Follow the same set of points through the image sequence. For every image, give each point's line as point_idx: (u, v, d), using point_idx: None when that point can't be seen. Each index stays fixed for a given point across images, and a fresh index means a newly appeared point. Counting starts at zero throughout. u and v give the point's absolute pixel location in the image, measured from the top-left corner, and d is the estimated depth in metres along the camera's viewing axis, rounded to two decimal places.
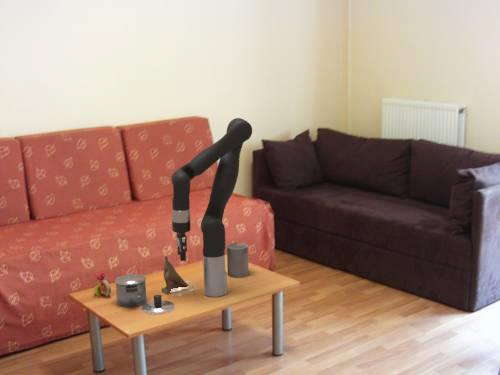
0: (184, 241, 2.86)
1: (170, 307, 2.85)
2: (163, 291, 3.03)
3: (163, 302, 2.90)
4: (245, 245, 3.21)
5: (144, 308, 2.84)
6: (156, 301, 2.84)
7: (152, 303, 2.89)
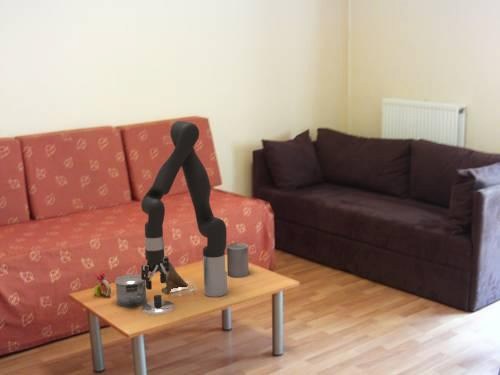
0: None
1: (170, 307, 2.85)
2: (163, 291, 3.03)
3: (163, 302, 2.90)
4: (245, 245, 3.21)
5: (144, 308, 2.84)
6: (156, 301, 2.84)
7: (152, 303, 2.89)
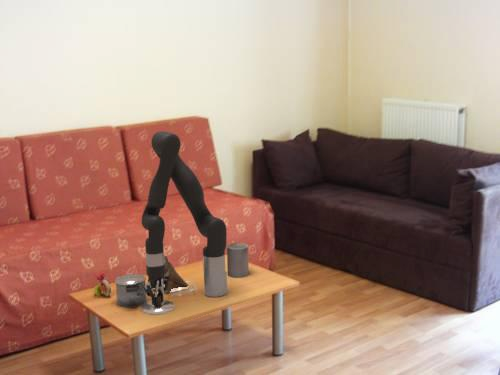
0: None
1: (170, 306, 2.84)
2: None
3: (163, 301, 2.90)
4: (245, 245, 3.21)
5: (144, 307, 2.84)
6: None
7: None
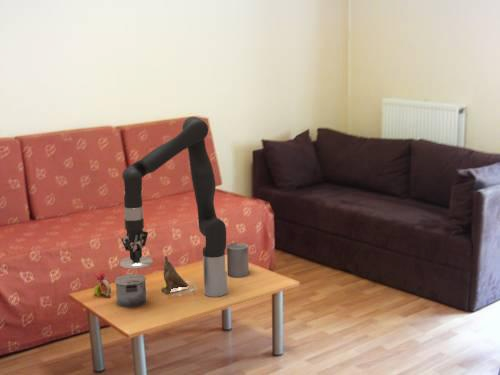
0: None
1: (148, 261, 2.86)
2: (163, 291, 3.03)
3: (141, 257, 2.91)
4: (245, 245, 3.21)
5: (122, 262, 2.85)
6: None
7: None
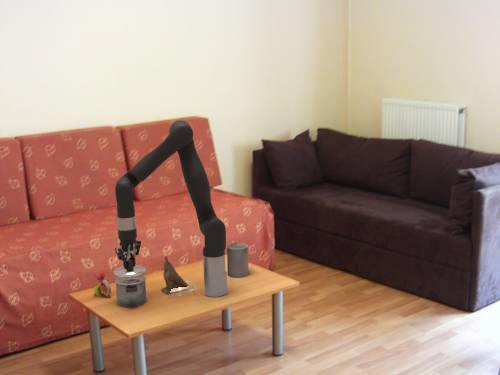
0: None
1: (141, 270, 2.89)
2: (163, 291, 3.03)
3: (135, 266, 2.95)
4: (245, 245, 3.21)
5: (116, 271, 2.89)
6: None
7: None
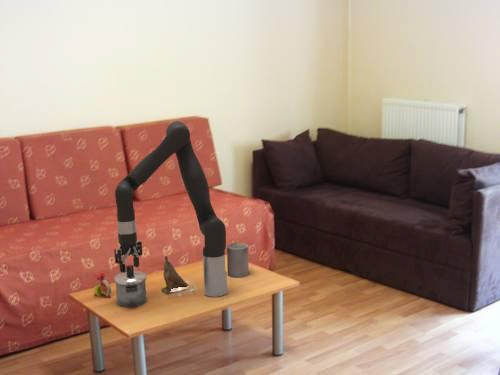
0: None
1: (142, 277, 2.90)
2: (163, 291, 3.03)
3: (136, 272, 2.95)
4: (245, 245, 3.21)
5: (116, 278, 2.90)
6: (128, 271, 2.90)
7: (125, 273, 2.95)
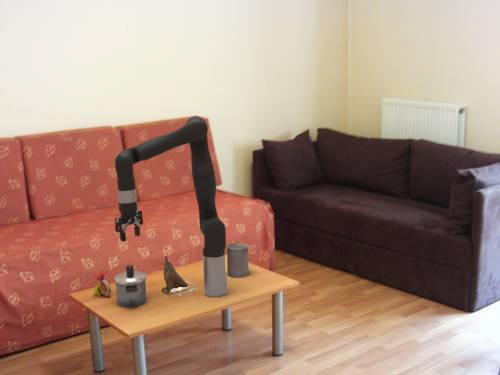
0: None
1: (142, 277, 2.90)
2: (163, 291, 3.03)
3: (136, 272, 2.96)
4: (245, 245, 3.21)
5: (116, 278, 2.90)
6: (128, 271, 2.90)
7: (125, 273, 2.95)
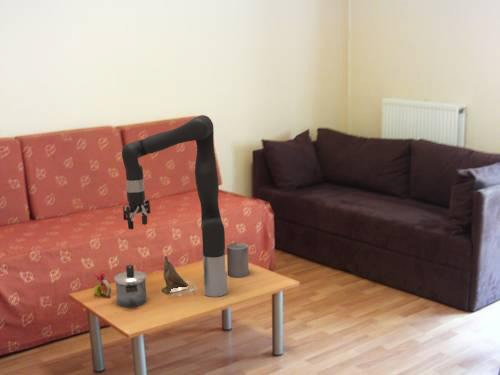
0: None
1: (142, 277, 2.90)
2: (163, 291, 3.03)
3: (136, 272, 2.96)
4: (245, 245, 3.21)
5: (116, 278, 2.90)
6: (128, 271, 2.90)
7: (125, 273, 2.95)
